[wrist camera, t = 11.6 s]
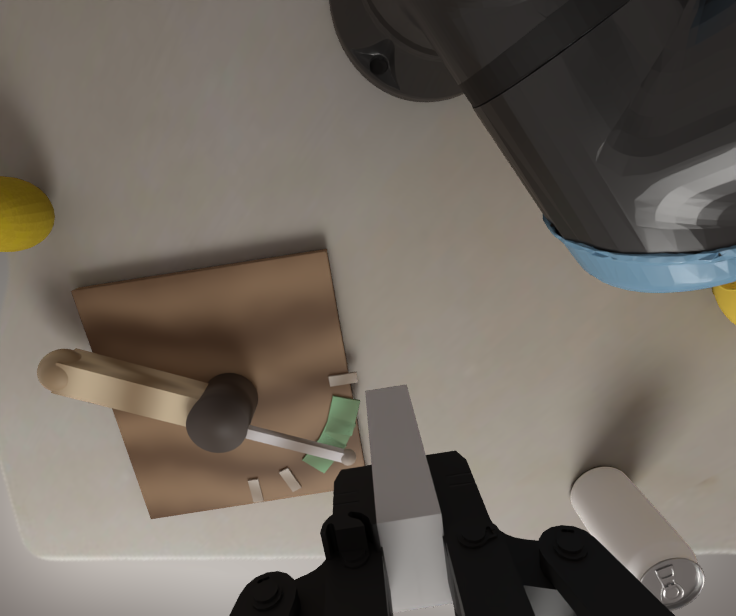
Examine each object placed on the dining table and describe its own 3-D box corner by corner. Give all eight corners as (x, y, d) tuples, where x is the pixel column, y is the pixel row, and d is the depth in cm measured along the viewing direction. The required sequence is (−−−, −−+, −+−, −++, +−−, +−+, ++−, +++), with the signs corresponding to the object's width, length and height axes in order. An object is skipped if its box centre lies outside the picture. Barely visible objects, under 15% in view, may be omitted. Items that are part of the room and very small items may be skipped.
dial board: (78, 287, 42) (69, 291, 41) (335, 247, 42) (335, 250, 41) (155, 510, 49) (150, 520, 48) (374, 476, 49) (375, 485, 48)
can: (577, 523, 52) (643, 625, 41) (560, 478, 50) (624, 572, 39) (635, 501, 52) (717, 599, 40) (619, 455, 50) (701, 543, 38)
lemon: (33, 160, 39) (-43, 160, 31) (87, 212, 40) (27, 225, 33) (-11, 205, 40) (-95, 216, 32) (44, 255, 41) (-24, 277, 34)
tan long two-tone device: (55, 377, 43) (16, 406, 38) (62, 326, 42) (23, 350, 36) (347, 452, 47) (347, 487, 41) (363, 407, 45) (365, 439, 40)
